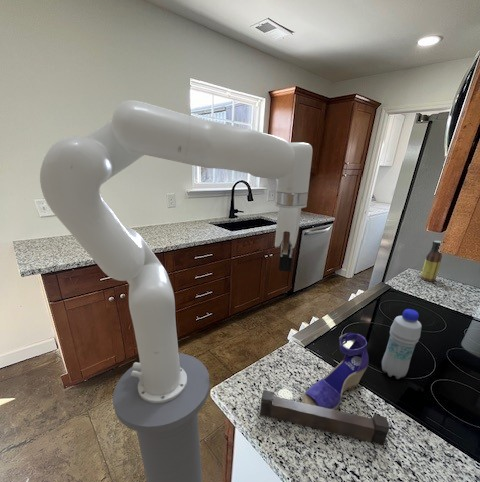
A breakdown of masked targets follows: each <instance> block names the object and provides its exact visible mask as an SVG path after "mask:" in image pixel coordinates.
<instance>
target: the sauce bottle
mask: <svg viewBox="0 0 480 482" xmlns="http://www.w3.org/2000/svg"><path fill="white" fill-rule="evenodd" d="M441 241H442V240H433V241H432V245H431V247H430V248H431V249H430V251H429V252H428V254H427V255H426V256H425V260H424V264H423V266H422V269H421V275H420V279H421V280H423V281H425V282H431V283H433V282H435V281H436V278H437V276H438V274H439V269H440V266H441V262H442V258H443V254H442V252H441V253H439V252H438V249H439V246H440V243H441Z"/></svg>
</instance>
